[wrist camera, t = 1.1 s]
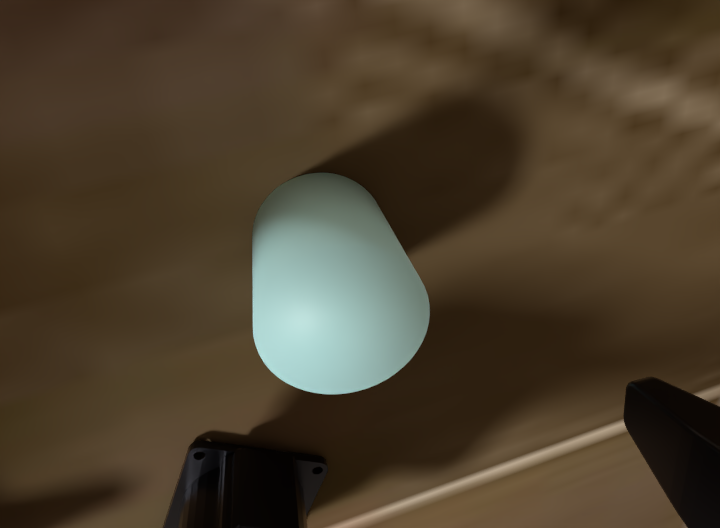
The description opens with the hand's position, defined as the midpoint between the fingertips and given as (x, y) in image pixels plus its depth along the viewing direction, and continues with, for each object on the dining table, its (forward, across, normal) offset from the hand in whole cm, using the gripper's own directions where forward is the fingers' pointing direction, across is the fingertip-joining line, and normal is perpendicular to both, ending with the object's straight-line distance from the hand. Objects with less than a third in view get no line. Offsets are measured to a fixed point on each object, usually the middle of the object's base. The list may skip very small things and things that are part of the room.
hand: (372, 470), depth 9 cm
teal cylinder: (+12, 0, +2) cm, 12 cm away
